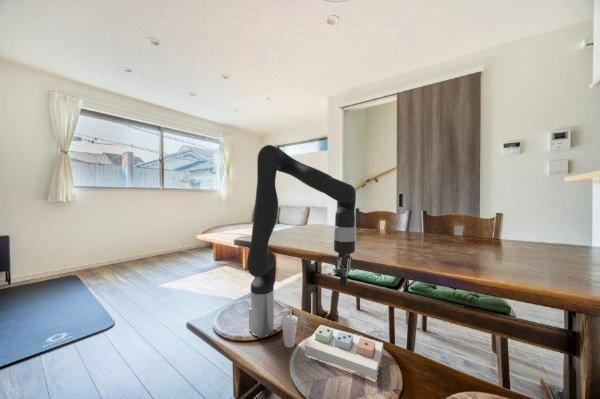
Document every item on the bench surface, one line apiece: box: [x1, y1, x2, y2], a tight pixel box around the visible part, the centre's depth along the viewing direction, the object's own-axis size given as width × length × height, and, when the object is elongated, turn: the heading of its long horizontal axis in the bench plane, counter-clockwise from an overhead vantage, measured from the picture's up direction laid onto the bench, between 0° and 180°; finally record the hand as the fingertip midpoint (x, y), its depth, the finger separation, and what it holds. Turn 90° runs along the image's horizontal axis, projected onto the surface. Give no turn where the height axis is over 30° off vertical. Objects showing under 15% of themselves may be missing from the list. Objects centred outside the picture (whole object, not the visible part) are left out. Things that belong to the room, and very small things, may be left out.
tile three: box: [335, 332, 353, 351], centre depth 82 cm, size 5×5×6 cm
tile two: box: [315, 325, 333, 344], centre depth 85 cm, size 5×5×6 cm
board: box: [304, 324, 384, 380], centre depth 82 cm, size 24×14×4 cm, turn 62°
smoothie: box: [280, 307, 299, 349], centre depth 87 cm, size 6×6×14 cm
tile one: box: [357, 338, 375, 359], centre depth 78 cm, size 5×5×6 cm
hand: (343, 285), depth 85 cm, fingers closed
